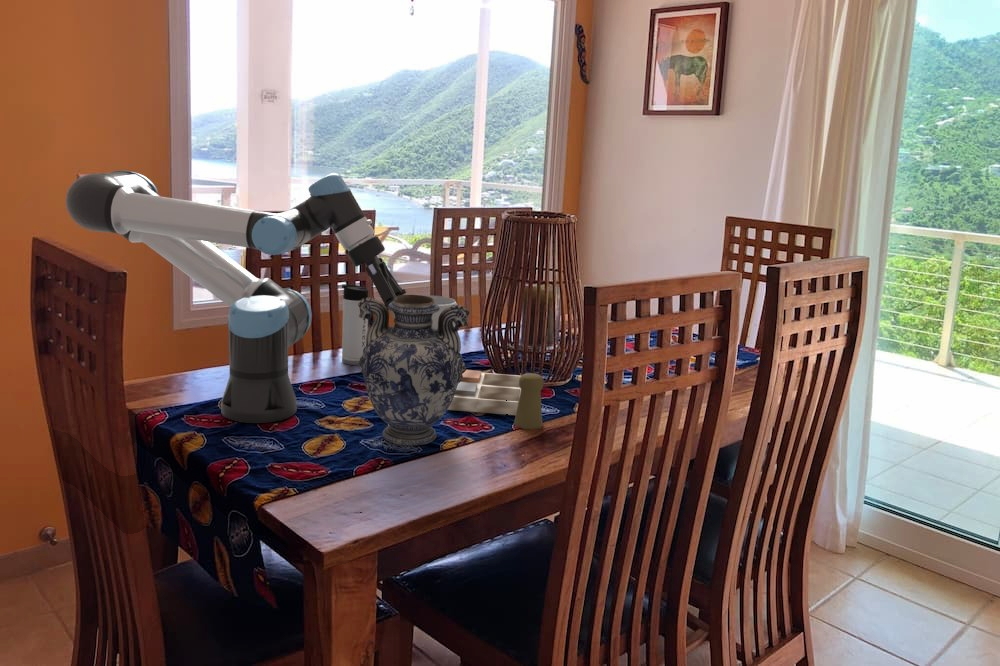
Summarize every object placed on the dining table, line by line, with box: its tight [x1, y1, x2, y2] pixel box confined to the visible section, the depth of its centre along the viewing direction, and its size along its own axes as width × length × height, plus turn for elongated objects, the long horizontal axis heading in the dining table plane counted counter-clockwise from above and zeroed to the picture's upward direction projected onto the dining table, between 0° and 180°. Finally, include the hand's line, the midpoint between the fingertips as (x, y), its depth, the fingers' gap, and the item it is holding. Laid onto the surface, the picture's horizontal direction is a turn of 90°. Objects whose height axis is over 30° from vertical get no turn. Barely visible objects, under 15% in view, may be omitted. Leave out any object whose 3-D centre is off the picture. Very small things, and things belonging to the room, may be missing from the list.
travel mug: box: [341, 284, 369, 366], centre depth 210 cm, size 6×7×20 cm
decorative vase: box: [358, 294, 470, 447], centre depth 161 cm, size 21×19×28 cm
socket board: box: [447, 369, 522, 416], centre depth 190 cm, size 16×20×4 cm
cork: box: [513, 372, 545, 430], centre depth 174 cm, size 6×6×11 cm
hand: (412, 327), depth 180 cm, fingers open, 13 cm apart
